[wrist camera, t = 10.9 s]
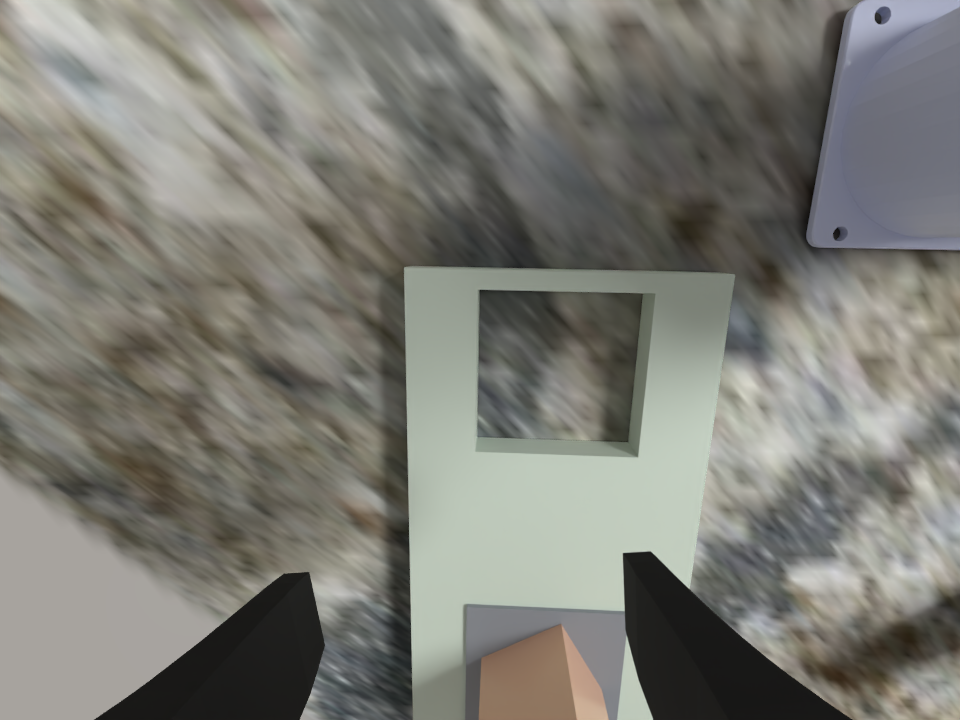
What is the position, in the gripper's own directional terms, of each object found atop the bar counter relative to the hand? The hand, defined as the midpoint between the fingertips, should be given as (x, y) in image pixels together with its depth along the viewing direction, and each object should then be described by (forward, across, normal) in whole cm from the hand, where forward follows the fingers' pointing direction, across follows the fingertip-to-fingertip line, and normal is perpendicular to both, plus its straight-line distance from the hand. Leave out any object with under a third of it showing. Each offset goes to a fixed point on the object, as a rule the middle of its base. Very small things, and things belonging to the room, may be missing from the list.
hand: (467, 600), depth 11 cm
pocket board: (+10, -2, +4) cm, 11 cm away
